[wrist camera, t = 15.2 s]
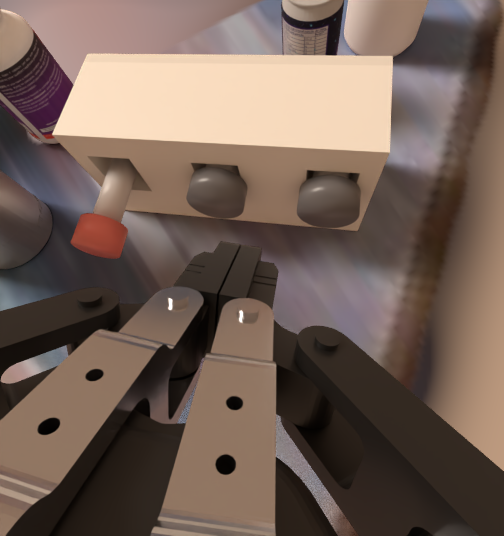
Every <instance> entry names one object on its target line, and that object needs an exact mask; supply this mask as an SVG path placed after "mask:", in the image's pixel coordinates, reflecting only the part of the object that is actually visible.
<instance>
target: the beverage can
mask: <svg viewBox="0 0 504 536" xmlns="http://www.w3.org/2000/svg"><path fill="white" fill-rule="evenodd" d="M343 6H344V0H282V4H281V11H282V43H283V55H327V56H337V51H338V44H339V36H340V29H341V21H342V13H343Z"/></svg>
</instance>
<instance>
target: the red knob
mask: <svg viewBox="0 0 504 536" xmlns="http://www.w3.org/2000/svg"><path fill="white" fill-rule="evenodd" d="M136 174H137V169H136V168H135V166H134V165H133V164H132V162H131V161H130V159H125V158H112V160H111V163H110V166H109V169H108V172H107V174H106V177H105V180H104V183H103V186H102V188H101V191H100V194H99V197H98V200H97V202H96V205H95V208H94V211H93V214H91V213H86V214H82V215H81V216H80V219H79V221H78V224H77V227H76V229H75V232H74V235H73V238H72V240H71V244H72V245H73V246H74V247H76V248H77V249H79V250H81V251H83V252H86V253H89V254H91V255H95V256H99V257H103V258H110V259H116V258H120V256H121V253H122V250H123V246H124V243H125V240H126V237H127V234H128V229H127V228H126V227H125V226H124V225H123V224H121V221H122V218H123V215H124V212H125V208H126V205H127V202H128V199H129V196H130V193H131V190H132V187H133V184H134V181H135V177H136Z"/></svg>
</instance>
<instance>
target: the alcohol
mask: <svg viewBox="0 0 504 536" xmlns="http://www.w3.org/2000/svg"><path fill="white" fill-rule="evenodd" d="M427 3H428V0H348V7H347V14H346V21H345V28H344V37H345V39H346V41H347V43H348V45H349V47H350V49H351V50H352V51H353V52H354V53H356V54H357V55H359V56H393V57H394V56H397V55H398V54H400V53H401V52H403V51H404V50H405V49H406V48H407V47H408V46H409V45H411V44H412V42H413V41H414V40H415V37H416V35H417V32H418V29H419V26H420V23H421V20H422V18H423V15H424V12H425V9H426V6H427Z"/></svg>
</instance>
